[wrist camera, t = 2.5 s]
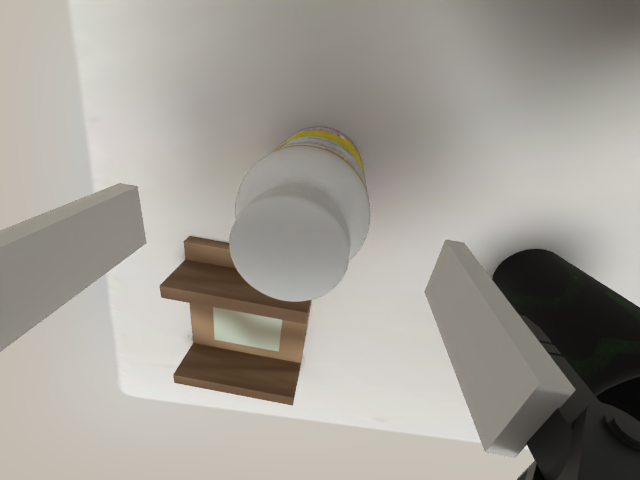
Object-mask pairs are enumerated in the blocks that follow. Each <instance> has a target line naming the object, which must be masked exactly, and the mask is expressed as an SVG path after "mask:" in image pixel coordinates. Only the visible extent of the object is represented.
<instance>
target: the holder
mask: <svg viewBox="0 0 640 480" xmlns="http://www.w3.org/2000/svg"><path fill="white" fill-rule="evenodd" d="M184 248H185V258H186V260H185V261H184V262H183V263H182V264H181V265H180V266H179V267H178V268H177V269H176V270H175V271H174V272H173V273H172V274H171V275H170V276H169V277H168V278H167V279H166V280H165V281H164V282H163V283H162V284H161V285H160V291H161V297H162V298H167V299H172V300H178V301H183V302H189V303H190V312H191V322H192V333H193V344H192V346H191V348H190V349H189V351H188V352H187V354H186V356H185V357H184V359H183V360H182V362H181V364H180V365H179V367H178V368H177V370H176V372H175V373H174V375H173V376H174V383H179V384H184V385H189V386H194V387H199V388H205V389H210V390H215V391H220V392H226V393H231V394H236V395H241V396H247V397H252V398H257V399H262V400H267V401H273V402H278V403H283V404H288V405H293V401H294V396H295V391H296V386H297V381H298V376H299V371H300V365H301V359H302V353H303V347H304V341H305V336H306V330H307V324H308V318H309V312H310V306H311V300H307V301H299V302H291V301H283V300H278V299H275V298H272V297H269V296H267V295H265V294H263V293H261V292H260V291H258V290H256V289H255V288H253V287H252V286H251V285H250V284H249V283H247V282H246V281H245V280H244V279H243V277H242V276H241V275H240V274H239V272H238V271H237V269H236V267H235V265H234V263H233V260H232V258H231V254H230V247H229V243H224V242H218V241H213V240H207V239H201V238H196V237H190V236H189V237H188V238H187V239H186V240H185V241H184Z"/></svg>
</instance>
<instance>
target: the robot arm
mask: <svg viewBox="0 0 640 480" xmlns="http://www.w3.org/2000/svg"><path fill="white" fill-rule="evenodd" d="M144 244H146V237H145V231H144V225H143V218H142V212H141V206H140V200H139V193H138V187H137V186H133V185H127V184H121V183H119V184H117V185H114V186H111V187H109V188H106V189H104V190H101V191H99V192H96V193H94V194H91V195H89V196H87V197H84V198H81V199H79V200H76V201H74V202H71V203H69V204H66V205H64V206H61V207H59V208H56V209H54V210H51V211H49V212H46V213H44V214H41V215H39V216H36V217H33V218H31V219H29V220H26V221H23V222H21V223H19V224H16V225H13V226H11V227H9V228H6V229H3V230H1V231H0V352H1V351H2V350H3V349H4V348H6V347H7V346H9V345H10V344H11V343H13V342H14V341H15V340H17V339H18V338H19V337H21V336H22V335H23V334H25V333H26V332H27V331H29V330H30V329H31V328H33V327H34V326H36V325H37V324H38V323H39V322H41V321H42V320H44V319H45V318H46V317H48V316H49V315H50V314H52V313H53V312H54V311H56V310H57V309H58V308H59V307H61V306H62V305H64V304H65V303H66V302H68V301H69V300H70V299H72V298H73V297H75V296H76V295H77V294H79V293H80V292H81V291H83V290H84V289H85V288H87V287H88V286H89V285H91V284H92V283H93V282H95V281H96V280H97V279H98V278H100V277H101V276H103V275H104V274H105V273H107V272H108V271H109V270H111V269H112V268H113V267H115V266H116V265H118V264H119V263H120V262H122V261H123V260H124V259H126V258H127V257H128V256H130V255H131V254H132V253H134V252H135V251H136V250H138V249H139V248H140V247H142V246H143V245H144ZM425 294H426V297H427V299H428V302H429V305H430V307H431V310H432V313H433V315H434V318H435V320H436V323H437V326H438V328H439V331H440V334H441V336H442V339H443V342H444V344H445V347H446V350H447V352H448V355H449V358H450V360H451V363H452V365H453V368H454V371H455V373H456V376H457V379H458V381H459V384H460V387H461V389H462V392H463V395H464V397H465V400H466V403H467V405H468V408H469V411H470V413H471V416H472V418H473V421H474V424H475V426H476V429H477V432H478V434H479V437H480V440H481V442H482V445H483V448H484V450H485V452H487V453H492V454H498V455H504V456H509V457H514V458H515V457H516V456H517V455H518V454H519V453H520V452H521V450H522V449H523V448H524V447H525V446H526V445H528V447H529V449H530V451H531V453H532V455H533V457H534V459H535V461H534V462H533V463H532V464H531V465H530V466H529V467H528V468H527V469H526V470H525V471H524V472H523V473H522V475H520V477H518V479H517V480H640V422H639V421H638V420H636V419H635V418H633V417H632V416H630V415H629V414H627V413H626V412H624V411H622V410H620V409H618V408H616V407H614V406H612V405H608V404H604V403H601V402H600V401H599V400H598V399H597V398H596V396H595V395H594V394H593V393H592V391H591V390H590V389H589V388H588V386H587V385H586V384H585V383H584V381H583V380H582V379H581V378H580V377H579V375H578V374H577V373H576V372H575V370H574V369H573V368H572V367H571V365H570V364H569V363H568V362H567V360H566V359H565V358H564V357H561V353H560V352H559V351H558V349H557V348H556V347H555V346H554V345H552V342H551V341H550V339H549V338H548V337H547V336H546V335H545V333H544V332H543V331H542V330H541V328H539V327H538V326H537V325H536V324H534V323H533V322H532V321H531V320H529V319H528V318H527V317H526V316H523V315H519V314H518V313H517V312H516V311H515V309H514V308H513V307H512V305H511V304H510V303H509V301H508V300H507V299H506V297H505V296H504V295H503V293H502V292H501V291H500V290H499V288H498V287H497V286H496V284H495V283H494V282H493V280H492V279H491V278H490V276H489V275H488V274H487V272H486V271H485V270H484V268H483V267H482V266H481V265H480V263H479V262H478V261H477V259H476V258H475V257H474V255H473V254H472V253H471V251H470V250H469V249H468V247H467V246H466V245H465V244H464V243H463V242H457V241H451V240H445V242H444V245H443V247H442V250H441V252H440V255H439V257H438V260H437V262H436V265H435V267H434V270H433V272H432V275H431V277H430V280H429V282H428V285H427V287H426V290H425Z"/></svg>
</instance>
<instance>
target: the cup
mask: <svg viewBox="0 0 640 480" xmlns="http://www.w3.org/2000/svg"><path fill="white" fill-rule="evenodd" d="M492 280H493V282H494V283H495V284H496V286H497V287H498V288H499V290H500V291H501V292H502V293H503V295H504V296H505V297H506V299H507V300H508V301H509V303H510V304H511V305H512V307H513V308H514V309H515V311H516V312H517V313H518V314H519V315H523V316H526V317H527V318H528V319H529V320H531V321H532V322H533V323H534V324H536V325H537V326H538V327H539V328H541V330H542V331H543V332H544V333H545V335H546V336H547V337H548V338H549V339H550V341H551V342H552V345H554V346H555V347H556V348H557V349H558V351H559V352H560V353H561V357H564V358H565V359H566V360H567V362H568V363H569V364H570V365H571V367H572V368H573V369H574V370H575V372H576V373H577V374H578V375H579V377H580V378H581V379H582V380H583V381H584V383H585V384H586V385H587V386H588V388H589V389H590V390H591V391H592V393H593V394H594V395H595V396H596V398H597V399H598V400H599V401H600V402H601V403H604V404H608V405H612V406H614V407H616V408H618V409H620V410H622V411H624V412H626V413H627V414H629V415H630V416H632V417H633V418H635V419H636V420H638V421H639V422H640V307H638V306H636V305H635V304H633V303H632V302H630V301H629V300H627V299H625V298H624V297H622V296H621V295H619V294H618V293H616V292H614V291H613V290H611V289H610V288H608V287H607V286H605V285H603V284H602V283H600V282H599V281H597V280H595V279H594V278H592V277H591V276H589V275H588V274H586V273H584V272H583V271H581V270H580V269H578V268H577V267H575V266H573V265H572V264H570V263H569V262H567V261H565V260H564V259H562V258H561V257H559V256H558V255H556V254H554V253H553V252H550V251H547V250H542V249H531V250H525V251H522V252H518V253H516V254H514V255H512V256H510V257H509V258H507V259H506V260H504V261H503V262H502V263H501V264H500V265H499V266H498V268H497V269H496V271H495V273H494V276H493V279H492Z"/></svg>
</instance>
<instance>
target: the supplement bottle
mask: <svg viewBox="0 0 640 480" xmlns="http://www.w3.org/2000/svg"><path fill="white" fill-rule="evenodd" d="M235 213H236V221H235V223H234V225H233V227H232V230H231V233H230V240H229V247H230V254H231V258H232V260H233V263H234V265H235V267H236V269H237V271H238V272H239V274H240V275H241V276H242V277H243V279H244V280H245V281H246V282H247V283H249V284H250V285H251V286H252V287H253V288H255V289H256V290H258V291H260V292H261V293H263V294H265V295H267V296H269V297H272V298H275V299H278V300H283V301H291V302H299V301H307V300H312V299H316V298H318V297H321V296H323V295H325V294H326V293H328V292H330V291H331V290H332V289H333V288H334V287H335V286H337V285H338V283H339V282H340V281H341V279H342V278H343V276H344V274H345V272H346V270H347V267H348V263H349V260H351V259H352V258H353V257H354V256H355V254H356V253H357V252H358V251H359V249H360V248H361V246H362V244H363V242H364V240H365V238H366V236H367V232H368V229H369V224H370V206H369V198H368V193H367V187H366V182H365V176H364V170H363V164H362V160H361V157H360V154H359V152H358V150H357V149H356V147H355V146H354V144H353V143H352V142H351V141H350V140H349V139H348V138H347V137H346V136H345V135H343V134H342V133H340V132H338V131H336V130H333V129H330V128H325V127H312V128H307V129H304V130H301V131H299V132H297V133H296V134H294V135H293V136H291V137H290V138H289V139H287V140H286V141H285V142H283V143H282V144H281V145H280V146H278V147H277V148H276V149H275V150H273V151H272V152H271V153H270V154H268V155H267V156H266V157H264V158H263V159H262V160H260V161H259V162H258V163H257V164H255V165H254V166H253V167H252V168H251V169H250V171H249V172H248V173H247V175H246V176H245V177H244V179H243V181H242V183H241V185H240V188H239V190H238V194H237V198H236V205H235Z"/></svg>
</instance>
